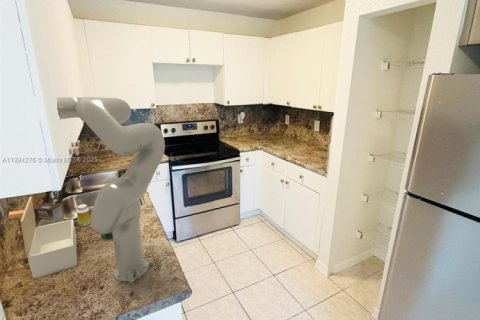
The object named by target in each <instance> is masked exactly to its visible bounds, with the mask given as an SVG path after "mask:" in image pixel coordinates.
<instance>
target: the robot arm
mask: <svg viewBox="0 0 480 320" xmlns="http://www.w3.org/2000/svg"><path fill="white" fill-rule="evenodd" d="M56 98H57V110H58V115H59V117H60V119H59V120H65V119H73V118H75V119H77V118H79V119H80V120H81V121H83V123H86V125H87V127H89V128H90V129H91V131H92V132H93V133H94V134H95V135H96V136H97V137H98V138H99V139H100V140H101V141H102V142H103V143H104V144H105V145H106V146H107V147H108V148H109V149H110V150H111V151H112V152H113V153H115V154H117V155H120V156H128V155H132V154H135V153H136V154H135V155H134V156H133V157H132V159H131V161H130V162H129V163H128V167H127V169H126V171H125V172H124V174H122V175H121V176H120V177H117V178H115V179H113V180H112V181H109V182H107V183H106V184H105V185H103V187H101V189H100V190H99V192H98V195H97V196H96V199H95V201H94V204H93V206H92V209H91V212H90V222H91V223H90V225H91V227H92V229H93V230H94V231H95V232H96V233H99V234H100V235H101V234H107V233H110V232H112V231H113V239H112V241H113V247H114V255H115V261H116V266H115V268H114V269H113V277H114V280H117V281H119V282H124V283H125V282H126V283H127V282H128V283H133V282H134V281H135V280H137V279H139V278H141V277H143V275H145V274H146V273H147V272H148V271H149V262H148V260H146V259H145V258H144V254H143V253H144V252H143V242H142V234H141V233H142V232H141V222H140V221H141V219H140V218H141V207H142V206H141V202H140V199H142V197H144V195H145V194H146V192H147V190H148V188H149V186H150V183H151V182H152V180H153V178H154V175H155V173H156V171H157V169H158V167H159V165H160V163H161V162H162V159H163V157H164V154H165V148H166V144H165V138H164V135H163V132H162V131H161V129H160V128H159V127H158V126H157V125H155V124H154V123H151V122H139V123H134V124H129V125H125V126H124V125H122V124H125V123H126V122H127V121H128V120H129V119H130V118H131V115H132V109H131V107H130V105H129V103H128V102H127V101H125V100H123V99H121V98H117V97H93V96H91V97H90V96H83V97H80V96H79V97H75V96H71V97H70V96H69V97H68V96H67V97H62V96H61V97H56Z"/></svg>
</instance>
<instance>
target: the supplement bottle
mask: <svg viewBox="0 0 480 320" xmlns="http://www.w3.org/2000/svg"><path fill="white" fill-rule="evenodd" d="M90 215H91V212H90V209H89V207H88V206H87V204H84V203H83V204H80V205H78V206H77V210H76V216H77V222H78V225H79V226H80V227H85V226H88V225H91V222H90Z"/></svg>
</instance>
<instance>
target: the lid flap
mask: <svg viewBox="0 0 480 320" xmlns="http://www.w3.org/2000/svg"><path fill="white" fill-rule="evenodd" d="M16 218H21V219H20V227H21V232H22V233H21V234H22V239H23V244H24V246H23V247H24V251H25V257H27V258H28V256H29V252H30V248H31V244H32V240H33V237H34V233H35V229H36V227H37V222H36V216H35V212H34V204H33V198H32V196H30V197H29V198H28V200H27V204H26V206H25V208H24V209H21V210H13V211H9V213H8V219H11V220H12V219H16Z"/></svg>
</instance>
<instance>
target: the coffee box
mask: <svg viewBox="0 0 480 320" xmlns="http://www.w3.org/2000/svg"><path fill="white" fill-rule="evenodd" d="M33 209H34V216H35V222H36V226H37V227H40V226H44V225H49V224H53V223H58V222H63V221H66V220H65V216H64V209H63V206H62V203H55V202H54V203H53V202H43V203H41V204H39V205H38V206H36V207H35V208H34V207H33Z"/></svg>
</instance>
